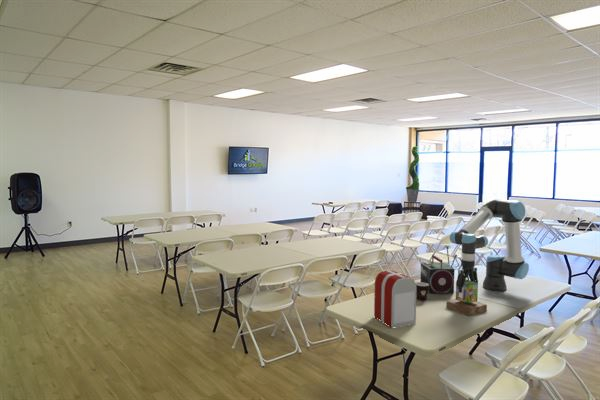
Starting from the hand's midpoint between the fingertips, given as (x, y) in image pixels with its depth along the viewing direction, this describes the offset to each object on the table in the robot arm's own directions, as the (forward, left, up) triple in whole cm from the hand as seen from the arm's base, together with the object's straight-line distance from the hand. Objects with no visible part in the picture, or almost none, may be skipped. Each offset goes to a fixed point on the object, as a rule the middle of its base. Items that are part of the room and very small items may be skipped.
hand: (466, 296), depth 238 cm
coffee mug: (+12, -27, -8) cm, 31 cm away
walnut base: (0, 0, -8) cm, 8 cm away
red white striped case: (+50, -7, -8) cm, 51 cm away
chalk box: (0, 0, -3) cm, 3 cm away
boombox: (-13, -35, -8) cm, 38 cm away
